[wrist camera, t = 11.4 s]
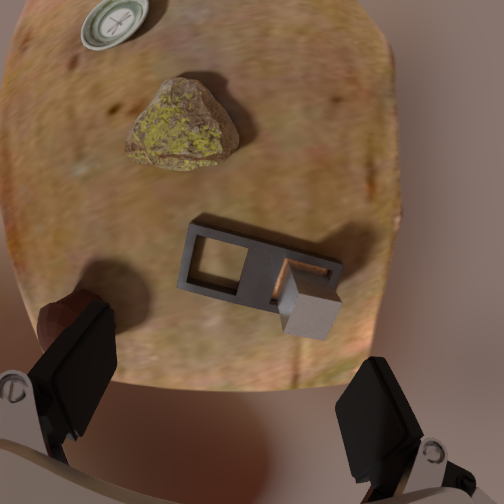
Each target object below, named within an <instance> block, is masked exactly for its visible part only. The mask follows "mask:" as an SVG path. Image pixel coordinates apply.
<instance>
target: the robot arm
mask: <svg viewBox="0 0 504 504" xmlns="http://www.w3.org/2000/svg"><path fill="white" fill-rule="evenodd" d="M116 367H117V354H116V342H115V326H114V311H113V309H110V305H109V304H108V303H105V302H102V301H99V300H96V299H94V300H93V301H92V302H91V303H90V304H89V305H88V306H87V307H86V308H85V309H84V310H83V312H82V313H81V314H80V315H79V316H78V317H77V318H76V319H75V321H74V322H73V323H72V324H71V325H70V326H69V327H67V328H65V329H64V330H63V331H62V332H61V334H60V335H59V336H58V337H57V338H56V339H55V341H54V342H53V343H52V344H51V345H50V347H49V348H48V349H47V350H46V352H45V353H44V354H43V355H42V356H41V358H40V359H39V360H38V362H37V363H36V364H35V365H34V367H33V368H32V369H31V370H30V372H29V373H28V374H27V375H25V374H24V373H23V372H20V371H17V370H9V371H5V372H3V373H1V374H0V504H180V503H175V502H171V501H166V500H162V499H158V498H155V497H151V496H147V495H144V494H140V493H137V492H134V491H130V490H128V489H125V488H122V487H119V486H116V485H113V484H111V483H108V482H105V481H103V480H100V479H98V478H95V477H93V476H90V475H88V474H86V473H83V472H81V471H79V470H77V469H75V468H72V467H70V465H69V463H68V460H67V458H66V455H65V452H64V449H63V446H62V444H63V442H64V440H65V438H68V439H70V440H72V441H74V442H76V440H77V438H78V436H79V437H82V436H83V435H84V433H85V431H86V429H87V426H88V424H89V422H90V420H91V418H92V416H93V414H94V412H95V410H96V408H97V406H98V404H99V401H100V399H101V397H102V396H103V394H104V391H105V390H106V388H107V386H108V384H109V382H110V380H111V378H112V376H113V374H114V372H115V370H116ZM335 412H336V415H337V419H338V423H339V427H340V430H341V435H342V438H343V442H344V446H345V450H346V454H347V458H348V462H349V466H350V471H351V474H352V476H353V477H354V478H355V479H356V483H363V482H368V481H370V482H371V486H370V488H369V489H368V491H367V493H366V495H365V497H364V498H363V500H362V502H361V503H360V504H496V503H495V502H494V501H493V500H492V499H491V498H490V497H489V496H488V495H486V494H485V493H484V492H483V491H482V490H481V489H480V488H479V487H476V480H475V477H474V476H473V475H472V473H470V472H469V471H467V470H465V469H463V468H461V467H459V466H457V465H455V464H453V463H451V462H450V461H448V460H447V458H448V453H447V449H446V447H445V446H444V444H443V443H442V442H441V441H439V440H437V439H434V438H427V439H425V440H423V441H422V442H421V440H420V439H421V438H422V437H423V436H424V434H423V432H422V430H421V428H420V426H419V423H418V422H417V419H416V417H415V415H414V413H413V411H412V409H411V407H410V405H409V403H408V401H407V399H406V397H405V395H404V394H403V391H402V390H401V387H400V386H399V383H398V382H397V380H396V378H395V376H394V374H393V372H392V370H391V369H390V367H389V365H388V363H387V361H386V359H385V358H383V357H373V356H371V357H369V358H368V359H367V360H365V361H364V362H363V363H362V365H361V367H360V368H359V370H358V371H357V373H356V374H355V376H354V378H353V379H352V381H351V382H350V384H349V385H348V387H347V389H346V390H345V391H344V393H343V394H342V395H341V397H340V398H339V400H338V401H337V403H336V406H335Z"/></svg>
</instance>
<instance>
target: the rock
mask: <svg viewBox="0 0 504 504" xmlns="http://www.w3.org/2000/svg"><path fill="white" fill-rule="evenodd" d="M238 145H239V134H238V132H237V130H236V127H235V125H234V123H232V121H231V118H230V116H229V114H228V113H227V112H226V110H225V108H223V107H222V106H221V104H220V103H219V102H218V101H216V100H215V98H214V97H213V96H212V94H211V93H210V91H209V89H207V88H206V87H205V85H204V84H203V83H202V82H201V81H200V80H197V79H187V78H182V77H179V78H176V77H171V78H168V79H166V80H165V81H164V82H162V85H161V86H160V88H159V89H158V91H156V92H155V95H154V98H153V99H152V100H151V102H150V104H149V105H148V107H147V108H146V109H145V110H144V111H142V112H141V113H140V115H139V117H138V118H136V120H135V122H134V123H133V125H132V127H131V129H130V131H129V133H128V134H127V137H126V139H125V153H126V154H127V156H128V157H129V159H130V160H131V161H133V162H136V163H137V164H144V165H146V166H147V165H152V164H154V165H155V166H157V167H158V168H161V169H165V170H167V169H170V170H179V171H192V170H195V169H197V168H198V167H201V166H209V165H217V164H220V161H225V160H226V159H227V158H228V157H229V156H231V154H232V153H233V151H234V150H235V149H237V148H238Z"/></svg>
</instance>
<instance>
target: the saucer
mask: <svg viewBox="0 0 504 504" xmlns="http://www.w3.org/2000/svg"><path fill="white" fill-rule="evenodd" d="M148 11H149V1H148V0H103V1H102V2H100V3H99V4H98V5H97V6H96V7H95V8H94V9H93V10H92V11H91V12H90V13H89V15H88V16H87V18H86V20H85V21H84V24H83V26H82V30H81V40H82V42H83V44H84V45H85V46H86V47H87V48H89V49H91V50H96V51H100V50H106V49H110V48H113V47H115V46H117V45H119V44H120V43H122V42H124V41H125V40H127V39H128V38H129V37H130V36H132V35H133V34H134V33H135V32H136V31H137V30H138V29H139V27H140V26H141V25H142V23H143V22H144V20H145V18H146V16H147V14H148Z"/></svg>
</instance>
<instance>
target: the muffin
mask: <svg viewBox="0 0 504 504" xmlns="http://www.w3.org/2000/svg"><path fill="white" fill-rule="evenodd" d="M94 299H96V300H99V301H102V302H103V300H102V299H101V298H100V296H99V295H95V294H92V293H90V292H88V291H86V290H84V289H83V290H81V291H79V292H75V293H71V294H69V295H68V296H66V297H64V298H62V299H60V300H59V301H57V302H54V303H49V304H47V305H46V306H44V307H43V308H41V309H40V313H39V316H38V323H37V335H38V339H39V343H40V346H41V347H42V349H43V351H44V352H46V350H47V349H48V348H49V347H50V345H51V344H52V343H53V342H54V341H55V339H56V338H57V337H58V336H59V335H60V334H61V332H62V331H63V330H64V329H65V328H67V327H69V326H70V325H71V324H72V323H73V322H74V321H75V319H76V318H77V317H78V316H79V315H80V314H81V313H82V312H83V310H84V309H85V308H86V307H87V306H88V305H89V304H90V303H91V302H92V301H93V300H94ZM114 326H115V327H116V325H115V323H114Z"/></svg>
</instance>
